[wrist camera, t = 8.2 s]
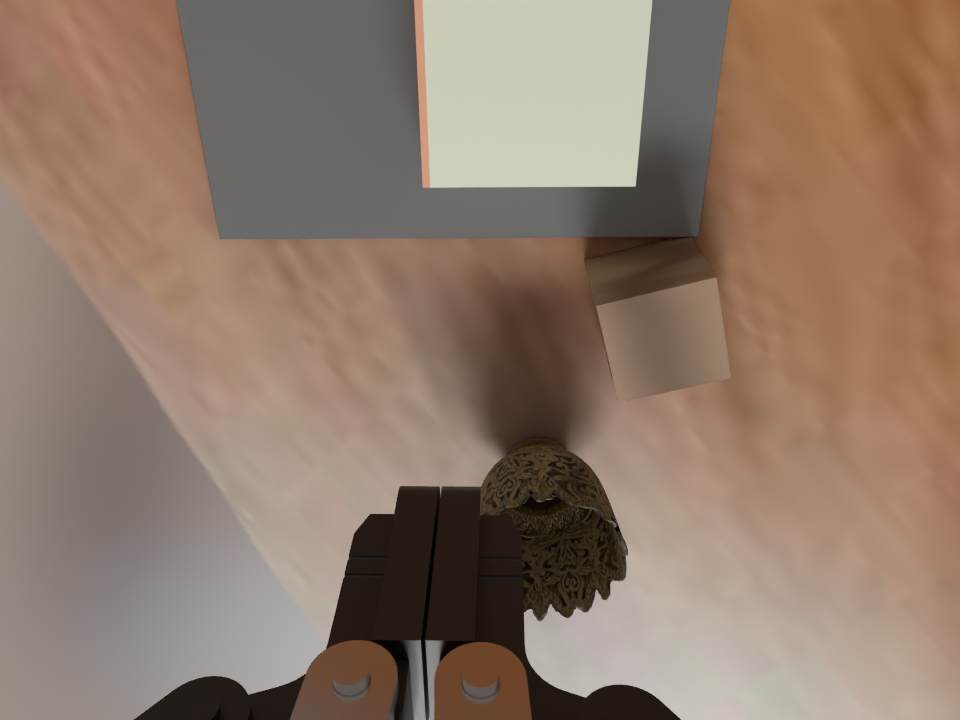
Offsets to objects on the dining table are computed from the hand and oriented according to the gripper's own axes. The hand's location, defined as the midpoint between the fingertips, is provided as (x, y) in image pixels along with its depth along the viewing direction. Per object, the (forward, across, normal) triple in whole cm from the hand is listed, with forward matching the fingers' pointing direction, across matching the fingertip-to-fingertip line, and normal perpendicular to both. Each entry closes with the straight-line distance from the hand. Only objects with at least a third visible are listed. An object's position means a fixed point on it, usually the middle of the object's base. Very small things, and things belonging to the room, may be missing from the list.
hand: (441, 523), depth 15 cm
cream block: (+22, +2, -4) cm, 22 cm away
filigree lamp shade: (+24, -3, +16) cm, 29 cm away
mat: (+24, +1, -3) cm, 24 cm away
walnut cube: (+24, -8, +6) cm, 26 cm away
